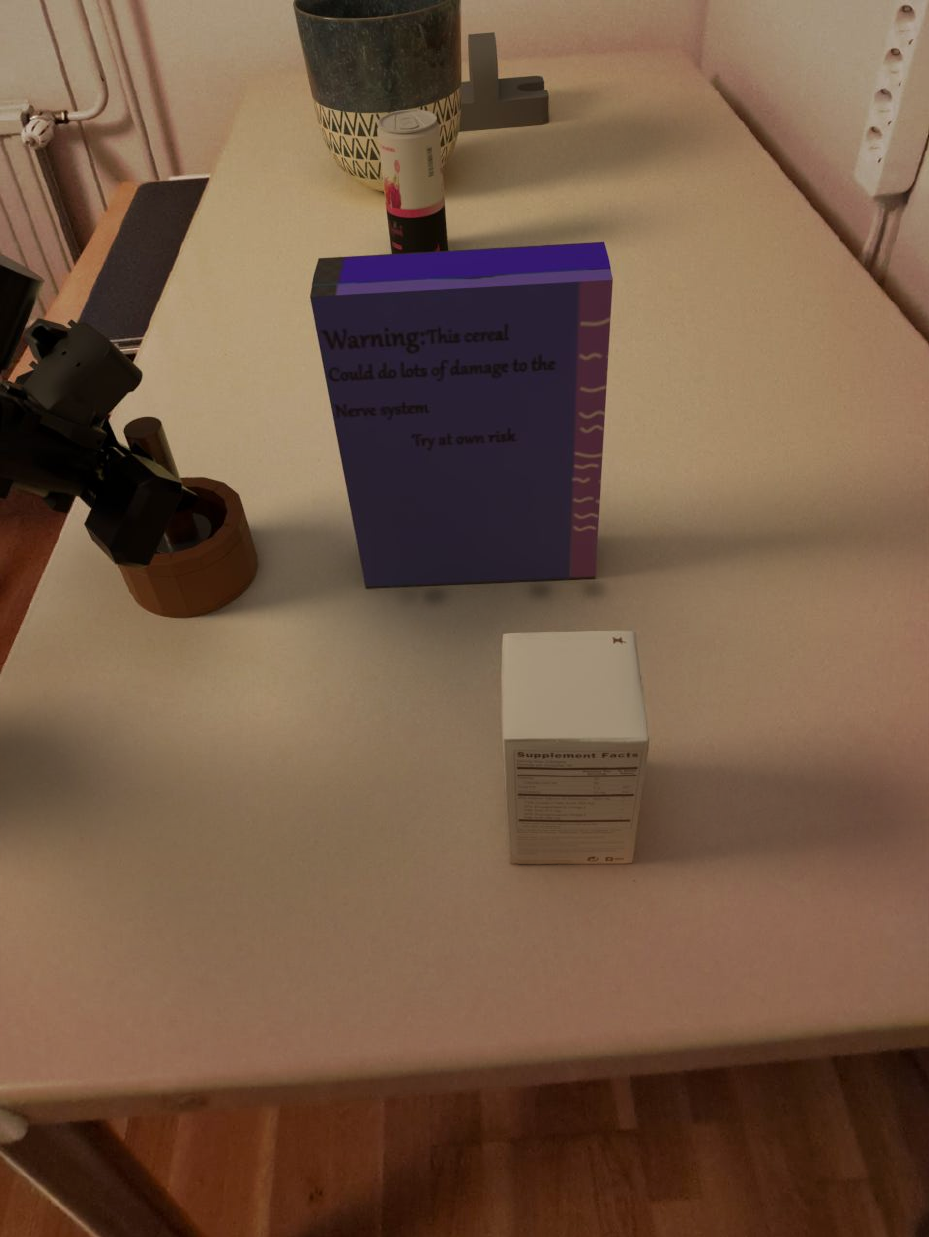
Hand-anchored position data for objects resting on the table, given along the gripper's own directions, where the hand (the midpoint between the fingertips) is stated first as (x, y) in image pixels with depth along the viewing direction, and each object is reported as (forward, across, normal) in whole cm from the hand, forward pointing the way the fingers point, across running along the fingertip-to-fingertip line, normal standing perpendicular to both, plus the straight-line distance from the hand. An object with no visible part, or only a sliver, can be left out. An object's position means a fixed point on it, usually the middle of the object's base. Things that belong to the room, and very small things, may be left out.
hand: (184, 492), depth 69 cm
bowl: (+4, 0, +6) cm, 7 cm away
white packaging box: (+8, -36, +3) cm, 36 cm away
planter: (+46, +46, -35) cm, 74 cm away
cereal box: (+16, -15, -6) cm, 23 cm away
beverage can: (+37, +28, -27) cm, 54 cm away
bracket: (+63, +55, -52) cm, 98 cm away
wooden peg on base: (+4, 0, +6) cm, 7 cm away
